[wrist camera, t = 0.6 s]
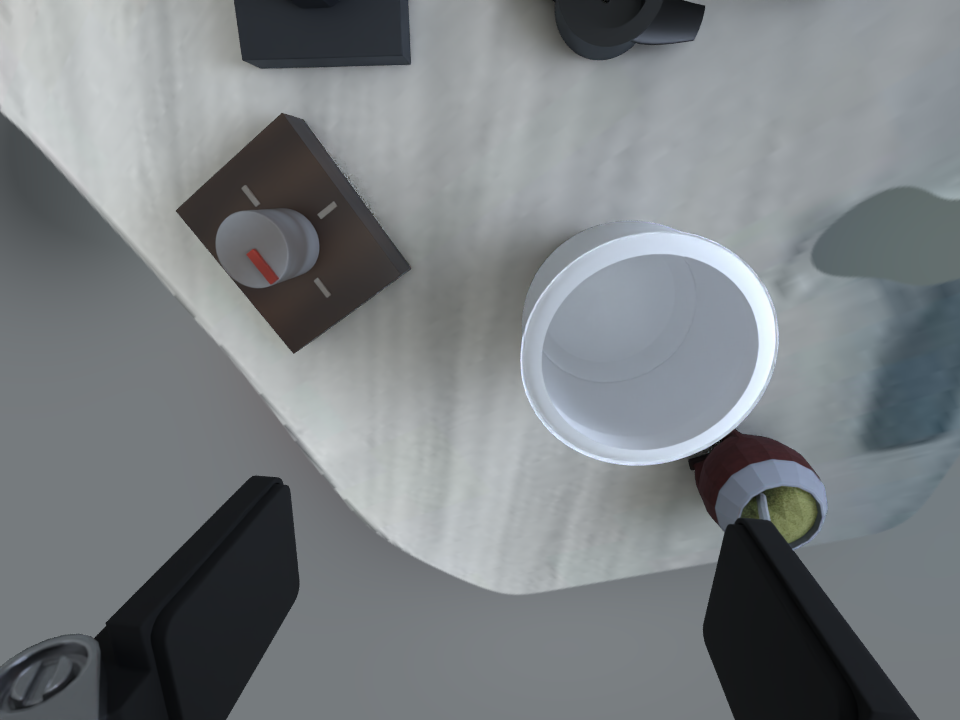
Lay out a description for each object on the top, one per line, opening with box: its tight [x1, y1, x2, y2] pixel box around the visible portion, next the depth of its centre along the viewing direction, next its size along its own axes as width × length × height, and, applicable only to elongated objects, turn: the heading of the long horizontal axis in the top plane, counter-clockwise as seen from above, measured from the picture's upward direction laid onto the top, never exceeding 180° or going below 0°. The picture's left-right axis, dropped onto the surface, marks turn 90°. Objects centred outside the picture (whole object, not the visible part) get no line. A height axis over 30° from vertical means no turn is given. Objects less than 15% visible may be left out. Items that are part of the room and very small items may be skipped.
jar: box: [520, 221, 779, 465], centre depth 27 cm, size 11×10×15 cm
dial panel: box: [176, 113, 411, 353], centre depth 34 cm, size 12×10×3 cm
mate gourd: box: [688, 429, 828, 550], centre depth 31 cm, size 8×8×15 cm
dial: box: [216, 208, 319, 288], centre depth 30 cm, size 4×4×5 cm
